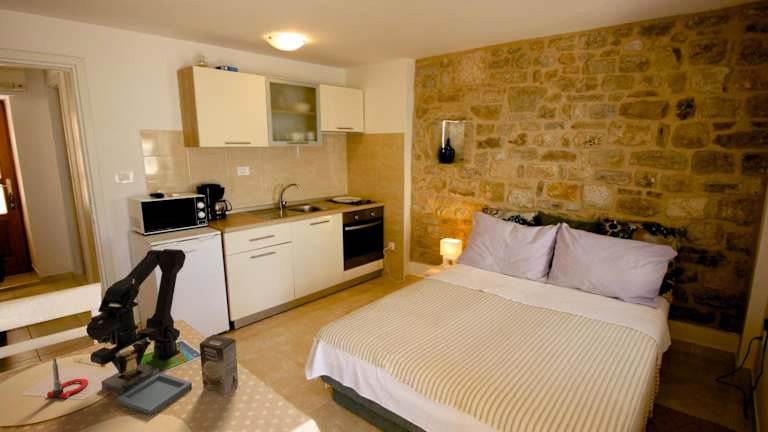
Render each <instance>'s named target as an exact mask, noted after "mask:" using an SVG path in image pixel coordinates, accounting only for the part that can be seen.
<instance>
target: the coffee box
mask: <svg viewBox="0 0 768 432" xmlns="http://www.w3.org/2000/svg"><path fill="white" fill-rule="evenodd" d="M236 341H237V340H236V338H232V337H227V336H223V335H218V334H215V333H213V334H212V335H211V336H208V337H206V339H204V340H203V341H201V342H200V343H199V352H200V353H199V355H200V365H201V366H200V367H201V377H202V379H201V380H202V390H204V391H208V392H212V393H215V394H219V395H221V396H227V395H228V394H229V393H231V392H232V391H233V390H234V389H235V388H236V387H238V386H239V376H238V374H239V373H238V358H237V344H236V343H237V342H236Z"/></svg>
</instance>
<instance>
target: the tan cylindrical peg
mask: <svg viewBox="0 0 768 432" xmlns="http://www.w3.org/2000/svg"><path fill="white" fill-rule="evenodd" d="M137 355H138V351H136V350H134V349H129V350H125V351H123V352H120V356H124V372H123V378H124V380H126V381H130V380H131V379H133V378H135V377H137V376H138V369H137V361H136V356H137Z"/></svg>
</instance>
